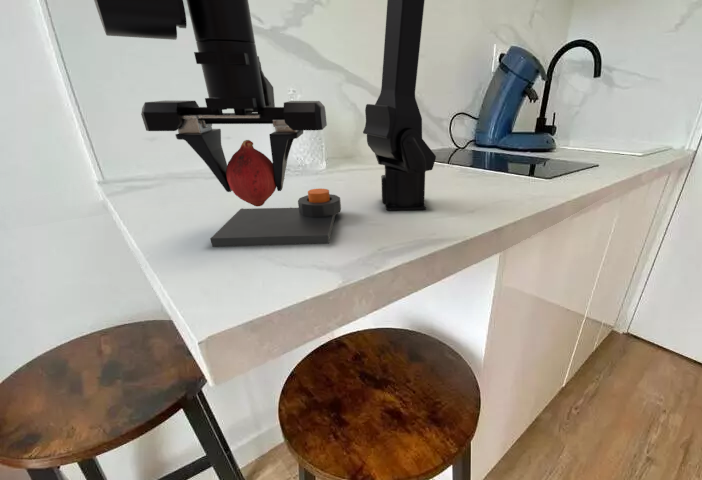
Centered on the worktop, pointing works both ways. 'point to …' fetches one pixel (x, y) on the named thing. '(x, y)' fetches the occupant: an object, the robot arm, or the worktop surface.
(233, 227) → the scale
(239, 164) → the onion
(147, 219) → the worktop surface
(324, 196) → the button
